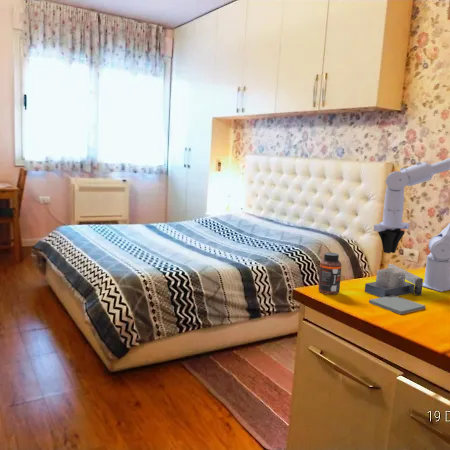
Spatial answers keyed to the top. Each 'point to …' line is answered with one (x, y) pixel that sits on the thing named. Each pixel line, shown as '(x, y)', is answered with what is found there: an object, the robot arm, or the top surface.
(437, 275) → the robot arm
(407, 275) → the steel lever
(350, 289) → the top surface
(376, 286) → the grey piece
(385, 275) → the grey rectangular block
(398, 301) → the rubber mat
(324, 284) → the supplement bottle
